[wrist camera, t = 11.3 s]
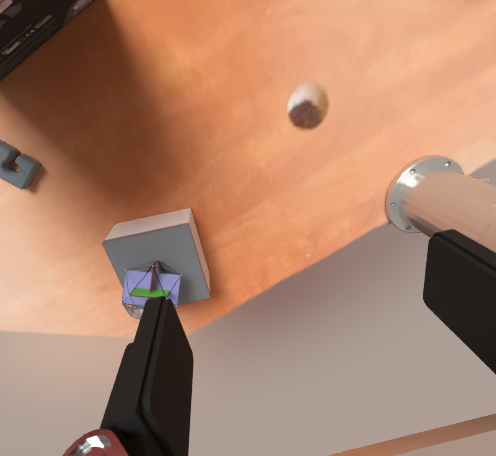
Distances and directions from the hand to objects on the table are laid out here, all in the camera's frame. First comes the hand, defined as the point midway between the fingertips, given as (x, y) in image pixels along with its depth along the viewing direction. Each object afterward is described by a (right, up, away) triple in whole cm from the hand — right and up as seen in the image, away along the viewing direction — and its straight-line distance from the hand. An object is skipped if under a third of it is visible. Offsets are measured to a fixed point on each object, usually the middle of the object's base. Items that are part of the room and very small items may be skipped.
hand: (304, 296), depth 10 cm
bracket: (-34, +12, +26) cm, 44 cm away
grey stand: (-15, -1, +34) cm, 37 cm away
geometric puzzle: (-15, -4, +29) cm, 33 cm away
